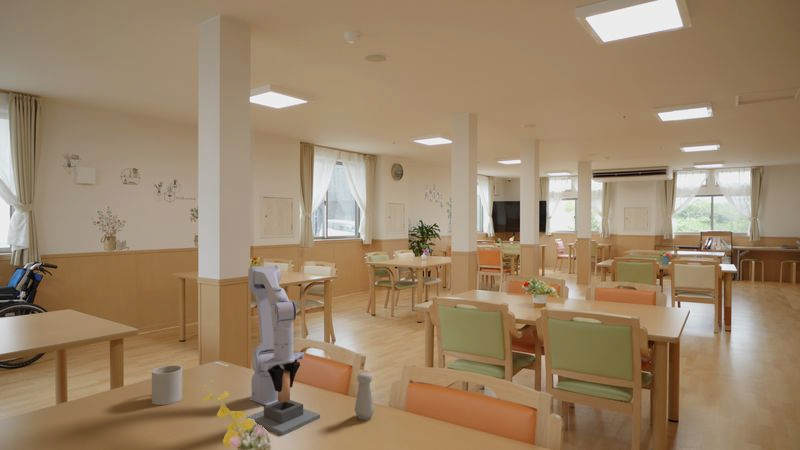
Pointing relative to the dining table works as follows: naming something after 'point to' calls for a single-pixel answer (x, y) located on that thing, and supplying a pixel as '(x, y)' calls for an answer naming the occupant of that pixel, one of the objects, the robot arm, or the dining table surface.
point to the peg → (285, 388)
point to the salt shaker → (364, 397)
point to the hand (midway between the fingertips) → (283, 388)
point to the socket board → (284, 416)
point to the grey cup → (166, 385)
